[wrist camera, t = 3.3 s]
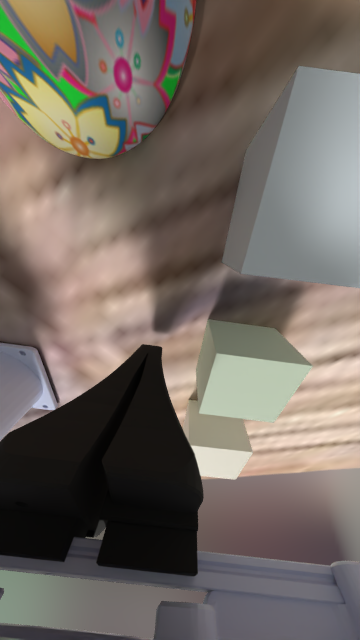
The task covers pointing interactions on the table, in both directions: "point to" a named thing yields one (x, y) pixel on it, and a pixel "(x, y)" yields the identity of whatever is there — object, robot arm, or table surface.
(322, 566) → the robot arm
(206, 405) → the block sage
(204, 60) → the table surface
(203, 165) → the table surface
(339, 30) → the table surface
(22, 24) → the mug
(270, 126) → the block bluegrey
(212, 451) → the block cream
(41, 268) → the table surface
